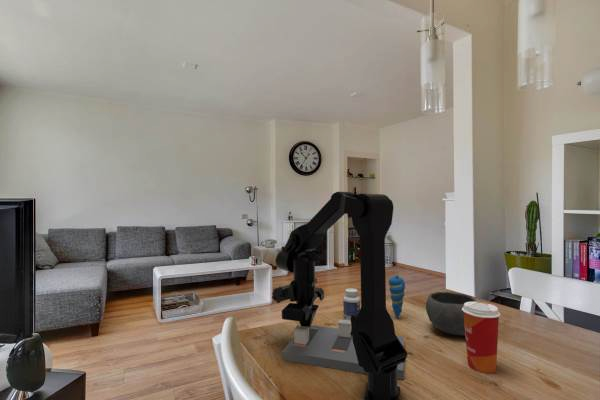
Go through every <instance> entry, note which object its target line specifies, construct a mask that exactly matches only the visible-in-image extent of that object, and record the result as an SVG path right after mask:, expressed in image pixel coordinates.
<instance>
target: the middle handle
mask: <svg viewBox="0 0 600 400" xmlns="http://www.w3.org/2000/svg"><path fill="white" fill-rule="evenodd" d="M337 325H338V328H339V336H340V337H348V338H351V335H350V333H351V321H348V320H344V319H339V320H338V323H337Z"/></svg>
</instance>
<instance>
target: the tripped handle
mask: <svg viewBox="0 0 600 400" xmlns="http://www.w3.org/2000/svg"><path fill="white" fill-rule="evenodd" d="M293 330H294V331H293V332H294V337H293V338H294V343H298V344H305V345H306V344H307V343H308V342H309V327H307V326H301V325H296V326H295V327H294V329H293Z"/></svg>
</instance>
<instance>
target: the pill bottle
mask: <svg viewBox="0 0 600 400" xmlns="http://www.w3.org/2000/svg"><path fill="white" fill-rule="evenodd" d="M344 294H345V295H344V297H343V301H342V303H343V320H348V321H351V315H353V314H357V313H359V311H360V309H361V297H359V296H358V295H359V293H358V289H356V288H346V289H345V293H344Z"/></svg>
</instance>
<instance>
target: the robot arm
mask: <svg viewBox="0 0 600 400" xmlns="http://www.w3.org/2000/svg"><path fill="white" fill-rule="evenodd" d="M345 214H347V215H349V216H351V223H352V226H353V228H354V230H355V231H356V233H357V235H358V237H359V244H360V246H359V250H360V251H359V254H360V255H359V256H360V257H359V258H360V261H359V262H360V265H359V266H360V311H359V313H357V314H353V315H351V333H350V335H353V344H354V347H355V351H356V356H357V360H358V364H359V366H361V367H362V368H363V369H364V371H365V372H367V374H366V375H367V382H366V387H365V391H364V396H363V400H401V387H400V385H398V384H399V383H398V379H397V365H398V364H400V363H404V364H405V362H406V361H407V358H408V352H407V350H406V348H405V346H404V347H403V345H402V344H401V342H400V341H399V339H398V338H397V336H398V335H397V334H396V330H395V323H394V320H393V317H391V315H390V313H389V311H388V309H387V295H386V292H387V291H386V289H387V287H386V285H387V284H386V279H387V276H386V236H387V234H388V232H389V230H390V228H391V226H392V223H393V215H394V203H393V201H392V199H390V197H389V196H387V195H386V194H382V193H380V194H379V193H359V194H358V193H353V192H350V191H336V192H334V193H332V194H331V197H330V198H329V200H328V201H327V202H326V203H325V204H324V205H323V206H322V207H321V208H320V210H319V211H318V212H316V214H315V215H314V216H312V218H311V219H310V220H309V221H308V222H306V223H305V224H301V225H300V226H297V227H296V228H294V229H293V230H292V231H291V232H290V233H289V237H288V239H287V241H286V243H285V245H284V246H281V250H280V251H279V252H278V253H277V254H276V257H275V260H274V261H275V265H276V267H277V268H278V269H279V270H283V271H286V272H288V273H291V274H293V280H291V281H290V283H289V284H286V285H283V286H279V287H275V288H273V290H272V293H271V294H272V297H271V299H272V300H274V302H276V304H280V303H281V302H284V301H287V300H289V303H288V304H287V305H286V306H285V307H284V308H283V309H282V310H281V319H282V320H285V321H293V322H299V324H300V325H299V326H307V327H309V329H310V327H311V325H313V322H314V319H315V316H316V314H317V312H318V311H317V310H318V309H319V304H315V301H316V299H317V298H319V301H323V300H324V299H325V290H323V288H321V287H316V284H317V283H318V278H316V272H315V271H316V266H315V264H316V263H315V262H319V261H320V260H321V259H320V257H319V255H318V254H316V252H315V251H314V250H316V249H318V248H319V246H320V245H321V243H322V242H323V236H324V234H325V233H326V232H327V231H329V230H330V229H331V228H332V227H333V226H334V225H335V224H336V223H337V222H338V221H339V220H340V219H341V218H342V217H343V216H344V215H345ZM295 302H296V303H295Z"/></svg>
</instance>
